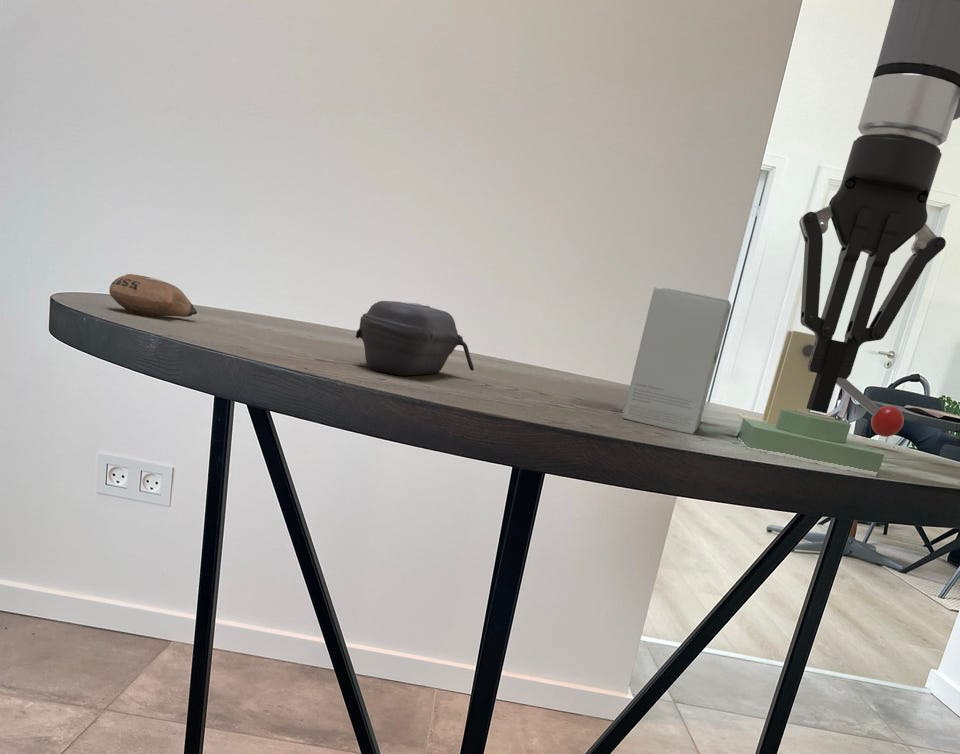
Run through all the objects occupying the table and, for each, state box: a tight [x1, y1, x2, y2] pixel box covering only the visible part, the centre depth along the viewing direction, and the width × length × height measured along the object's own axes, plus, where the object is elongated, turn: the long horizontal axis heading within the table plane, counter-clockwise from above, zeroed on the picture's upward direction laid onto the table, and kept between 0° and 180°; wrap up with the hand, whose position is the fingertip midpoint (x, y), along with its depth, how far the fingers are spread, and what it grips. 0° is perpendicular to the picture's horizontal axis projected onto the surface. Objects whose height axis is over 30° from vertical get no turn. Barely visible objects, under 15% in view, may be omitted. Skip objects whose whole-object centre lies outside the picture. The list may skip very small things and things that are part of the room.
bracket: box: [737, 330, 817, 424], centre depth 114 cm, size 10×8×12 cm
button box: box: [737, 409, 885, 473], centre depth 93 cm, size 12×10×4 cm
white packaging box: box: [622, 286, 732, 435], centre depth 95 cm, size 7×7×13 cm
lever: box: [836, 378, 905, 438], centre depth 113 cm, size 16×4×4 cm, turn 80°
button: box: [797, 410, 836, 421], centre depth 92 cm, size 4×4×2 cm
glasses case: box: [355, 300, 475, 377], centre depth 97 cm, size 18×10×8 cm, turn 168°
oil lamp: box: [109, 273, 198, 318], centre depth 102 cm, size 9×4×8 cm
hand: (816, 410), depth 92 cm, fingers closed
